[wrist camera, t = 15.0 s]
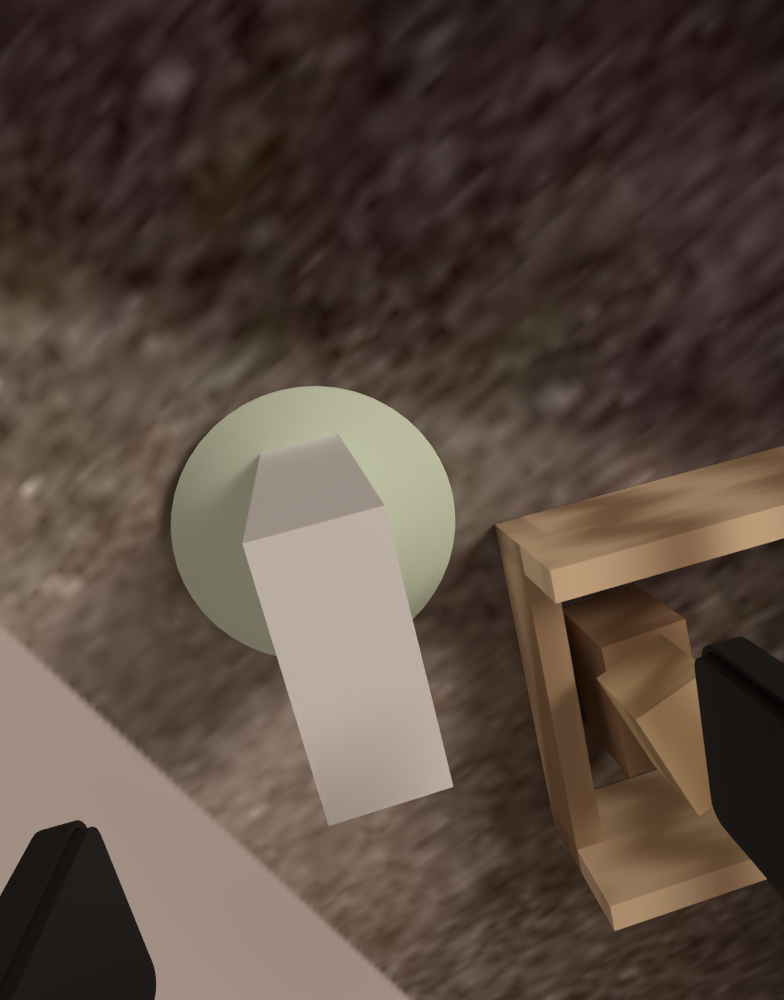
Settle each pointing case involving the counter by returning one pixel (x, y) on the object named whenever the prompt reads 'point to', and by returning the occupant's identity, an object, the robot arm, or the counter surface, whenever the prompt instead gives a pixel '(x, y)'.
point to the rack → (552, 689)
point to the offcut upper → (664, 714)
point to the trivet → (230, 481)
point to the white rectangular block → (342, 630)
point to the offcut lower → (616, 659)
